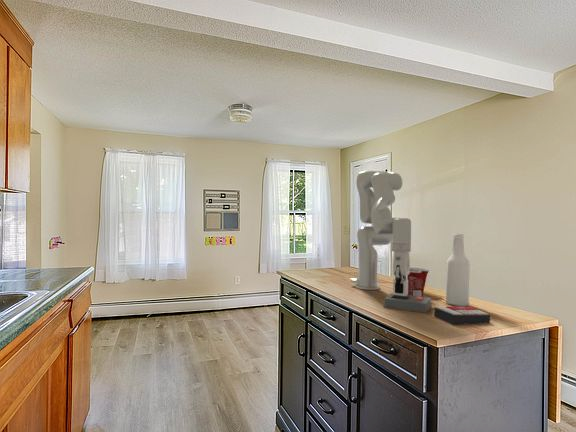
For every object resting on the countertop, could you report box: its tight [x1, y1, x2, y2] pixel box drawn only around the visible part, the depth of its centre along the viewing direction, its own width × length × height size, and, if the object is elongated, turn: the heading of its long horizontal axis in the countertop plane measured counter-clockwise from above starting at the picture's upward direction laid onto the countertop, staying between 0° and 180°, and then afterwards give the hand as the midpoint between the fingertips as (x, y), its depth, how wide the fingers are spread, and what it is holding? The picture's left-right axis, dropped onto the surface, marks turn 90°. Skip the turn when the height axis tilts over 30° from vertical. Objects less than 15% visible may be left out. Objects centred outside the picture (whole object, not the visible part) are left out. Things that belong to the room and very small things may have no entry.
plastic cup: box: [410, 267, 430, 293], centre depth 175 cm, size 11×11×12 cm
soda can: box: [406, 270, 424, 297], centre depth 165 cm, size 7×7×12 cm
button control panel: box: [433, 305, 491, 326], centre depth 130 cm, size 11×4×15 cm
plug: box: [392, 275, 408, 296], centre depth 148 cm, size 5×5×8 cm
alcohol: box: [445, 233, 470, 307], centre depth 153 cm, size 9×9×30 cm
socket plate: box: [383, 292, 432, 314], centre depth 147 cm, size 16×12×4 cm
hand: (400, 291), depth 148 cm, fingers closed on plug, 4 cm apart
